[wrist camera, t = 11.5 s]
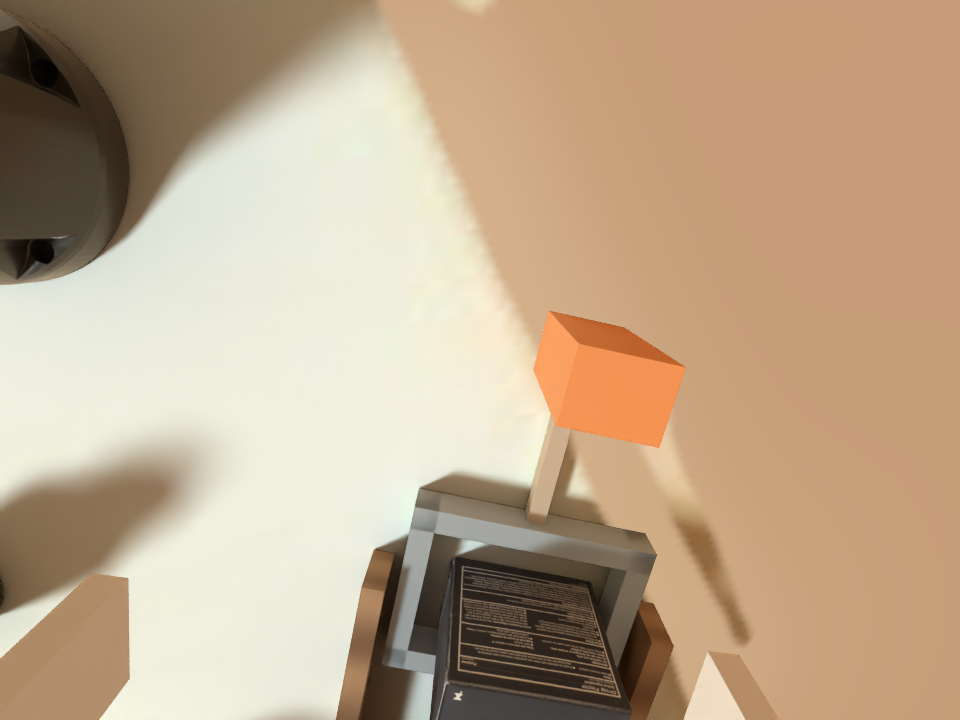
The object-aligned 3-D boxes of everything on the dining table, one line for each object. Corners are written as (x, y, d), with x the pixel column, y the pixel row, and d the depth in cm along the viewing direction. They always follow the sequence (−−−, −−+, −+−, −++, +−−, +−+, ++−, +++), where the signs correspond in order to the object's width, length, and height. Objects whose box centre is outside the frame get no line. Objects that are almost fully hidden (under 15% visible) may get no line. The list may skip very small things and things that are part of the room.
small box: (435, 628, 38) (419, 771, 28) (452, 553, 37) (441, 677, 26) (571, 652, 39) (604, 801, 28) (593, 579, 37) (636, 710, 27)
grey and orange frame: (461, 291, 32) (453, 316, 22) (708, 346, 33) (804, 393, 23) (387, 637, 38) (356, 774, 28) (596, 675, 39) (635, 821, 29)
